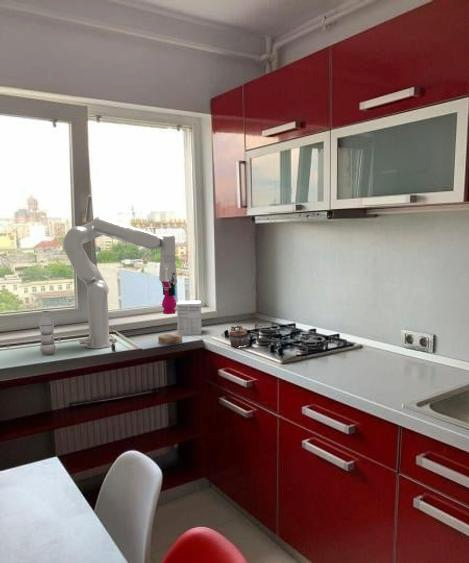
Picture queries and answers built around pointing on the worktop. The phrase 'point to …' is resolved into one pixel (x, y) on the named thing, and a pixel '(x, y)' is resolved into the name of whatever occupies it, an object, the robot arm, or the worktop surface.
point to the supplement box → (189, 317)
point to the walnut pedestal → (170, 339)
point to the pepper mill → (168, 300)
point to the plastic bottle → (47, 334)
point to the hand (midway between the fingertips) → (168, 294)
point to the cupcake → (238, 336)
